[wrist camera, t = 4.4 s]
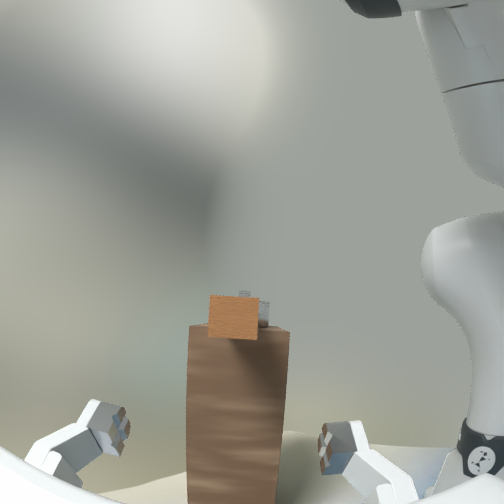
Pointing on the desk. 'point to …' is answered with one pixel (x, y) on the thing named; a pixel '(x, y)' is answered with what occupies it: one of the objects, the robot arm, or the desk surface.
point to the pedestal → (235, 416)
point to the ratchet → (237, 316)
